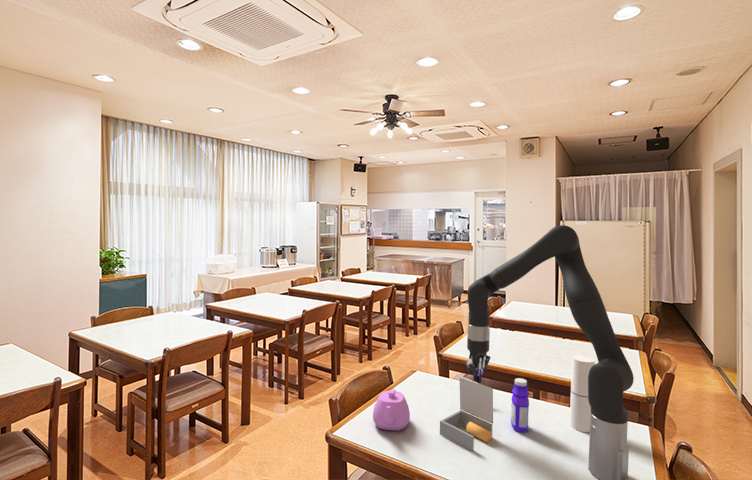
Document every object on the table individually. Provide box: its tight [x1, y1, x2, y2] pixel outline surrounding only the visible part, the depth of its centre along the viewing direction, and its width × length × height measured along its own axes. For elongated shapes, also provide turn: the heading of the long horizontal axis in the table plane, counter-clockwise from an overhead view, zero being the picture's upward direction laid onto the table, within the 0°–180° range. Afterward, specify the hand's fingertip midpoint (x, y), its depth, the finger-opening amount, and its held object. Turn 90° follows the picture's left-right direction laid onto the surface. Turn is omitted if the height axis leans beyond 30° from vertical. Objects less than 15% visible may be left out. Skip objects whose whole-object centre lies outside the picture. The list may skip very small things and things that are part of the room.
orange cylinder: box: [465, 422, 493, 444], centre depth 128 cm, size 8×4×4 cm
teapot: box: [372, 388, 411, 431], centre depth 135 cm, size 20×13×12 cm, turn 172°
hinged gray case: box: [439, 409, 493, 452], centre depth 129 cm, size 13×12×4 cm
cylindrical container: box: [569, 354, 596, 433], centre depth 135 cm, size 7×7×25 cm
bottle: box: [510, 377, 530, 433], centre depth 134 cm, size 7×6×17 cm
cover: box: [459, 376, 494, 425], centre depth 132 cm, size 13×12×1 cm
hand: (477, 384), depth 133 cm, fingers closed
